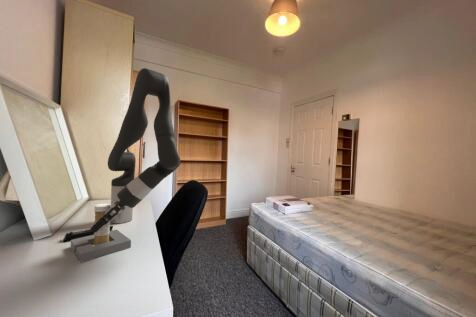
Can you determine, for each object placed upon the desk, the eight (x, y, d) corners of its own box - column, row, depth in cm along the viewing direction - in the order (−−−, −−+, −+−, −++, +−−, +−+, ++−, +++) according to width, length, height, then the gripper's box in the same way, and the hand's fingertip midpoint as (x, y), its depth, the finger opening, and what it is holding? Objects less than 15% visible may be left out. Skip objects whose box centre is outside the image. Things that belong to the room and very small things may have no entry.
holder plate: (70, 247, 67) (70, 240, 67) (116, 235, 78) (116, 229, 78) (80, 262, 58) (80, 254, 58) (130, 247, 69) (130, 240, 69)
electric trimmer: (113, 234, 80) (113, 226, 80) (62, 243, 71) (63, 234, 71) (112, 231, 83) (112, 224, 83) (63, 239, 73) (63, 231, 73)
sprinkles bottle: (92, 243, 68) (92, 204, 68) (107, 239, 71) (108, 202, 71) (96, 247, 65) (96, 207, 65) (111, 243, 69) (112, 204, 68)
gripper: (131, 181, 77) (93, 214, 73) (123, 187, 64) (76, 228, 60) (145, 194, 79) (109, 227, 75) (140, 203, 66) (97, 243, 62)
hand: (95, 227), depth 68 cm, fingers closed on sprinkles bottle, 4 cm apart
